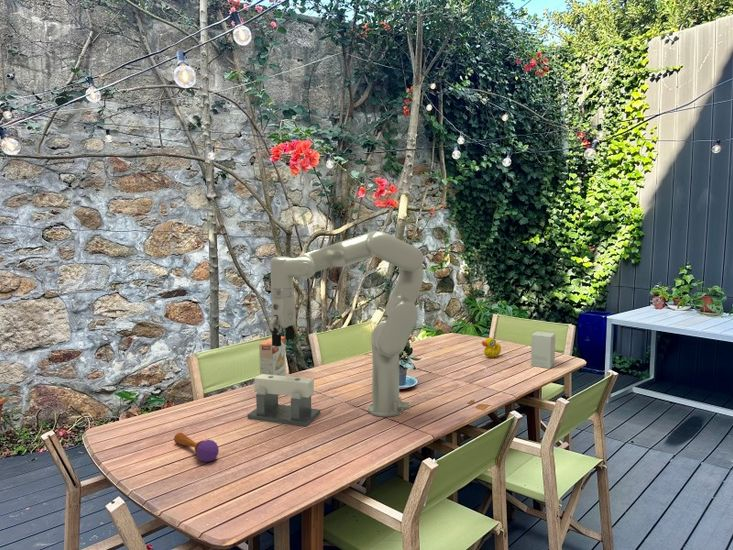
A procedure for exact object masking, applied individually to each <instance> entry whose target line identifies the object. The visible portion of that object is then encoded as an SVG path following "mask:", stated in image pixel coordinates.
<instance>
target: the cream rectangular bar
mask: <svg viewBox="0 0 733 550" xmlns="http://www.w3.org/2000/svg"><path fill="white" fill-rule="evenodd" d="M253 381H254V383H253V385H254V393H257V388H265V389H266V393H267V394H277V395H278V396H279V395H280V396H288V397H291V392H299V393H301V397H307V398H309V397H310V396H311V397H312V395H313V394H314V393H315V386H314V385H315V384H314V383H315V379H314V378H309V377H298V376H288V375H287V376H278V375H267V374H260V373H259V375H257V376H255V377H254V378H253Z"/></svg>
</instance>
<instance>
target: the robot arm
mask: <svg viewBox="0 0 733 550" xmlns="http://www.w3.org/2000/svg"><path fill="white" fill-rule="evenodd" d="M375 257H377V258H379V259H381V260H383V261H385V262H387V263H388V264H391V265H393V266H395V267H397V268H398V279H397V281H396V285H395V287H394V289H393V291H392V293H391V295H390V298H389V300H388V301H387V303H386V305H385V314H386V316H387V319H386V321H385V322H381V323H378V324H377V325H376V326H375V327H374V328H373V330H372V333H371V339H370V341H371V354H372V355H371V356H372V357H371V358H372V359H371V360H372V370H371V371H372V375H371V376H372V382H371V383H372V385H371V386H372V397H371V399H372V401H371V402H372V403H370V404H368V406H367V411H368V413H370V414H371V415H373V416H376V417H383V418H385V417H386V418H387V417H388V418H389V417H395V416H399V415H401V414H402V413H403V412H404V410H409V411H410V410H411V406H412V405H411V403H410V401H403V400H402V397H401V396H400V354H401V353H402V352H403V350H404V349H405V347H406V345H407V343H408V341H409V339H410V336H411V334H412V332H413V331H414V328H415V325H416V324H417V321H418V316H419V313H418V307H417V306H416V301H417V299H418V296H419V293H420V291H421V288H422V286H423V282H424V270H423V263H424V255H423V253H422V250H420V249H419V248H418V247H416V246H414V245H412V244H410V243H407V242H405V241H403V240H401V239H399V238H398V237H395V236H393V235H391V234H389V233H388V232H385V231H381V230H373V231H370V232H366V233H364V234H360V235H357V236H355V237H352V238H349V239H346V240H343V241H339V242H335V243H334V244H330V245H328V246H325V247H321V248H318V249H315V250H312V251H309V252H305V253H302V254H300V255H298V256H297V257H290V256H281V255H280V256H279V255H278V256H274V257H272V258H271V259H270V265H269V266H270V292H271V293H270V294H271V297H270V298H271V307H270V309H271V310H270V322H269V323H268V325H269V331H270V335H271V337H272V346H281V337H282V334H281V331H282V328H283V329H284V332H285V333H284V334H285V336H284V337H285V340H292V341H293V340H295V323H296V321H297V314H296V302H295V297H294V279H303V280H304V279H305V280H306V279H310V278H311V277H313V276H314V275H315V273H317V272H321V271H323V270H327V269H330V268H334V267H335V268H337V267H338V268H339V267H341V268H342V267H346V266H352V265H354V264H357V263H360V262H363V261H366V260H370V259H372V258H375ZM400 413H401V414H400ZM398 414H399V415H398Z"/></svg>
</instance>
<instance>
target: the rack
mask: <svg viewBox="0 0 733 550" xmlns="http://www.w3.org/2000/svg"><path fill="white" fill-rule="evenodd" d="M255 397H256V399H255V400H256V401H255V402H256V403H255V404H256V405H255V406H256V407H255V408H254V409H253V410H252V411H250V412H249V413H247V415H246V417H247V420H253V419H254V420H255V421H260V422H262V421H263V422H269V423H277V424H284V425H290V426H297V427H303V428H305V427H307V426H309V425H310V424H311V423H312V422H313V421H314V420H315V419H316V418H318V417H319V416H320V415H321V409H318V408H312V395H311V396H310V397H309V398H307V397H301V393H299V392H291V396H290V405H287V404H279V395H277V394H267V393H266V389H265V388H257V392H256V394H255Z"/></svg>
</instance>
